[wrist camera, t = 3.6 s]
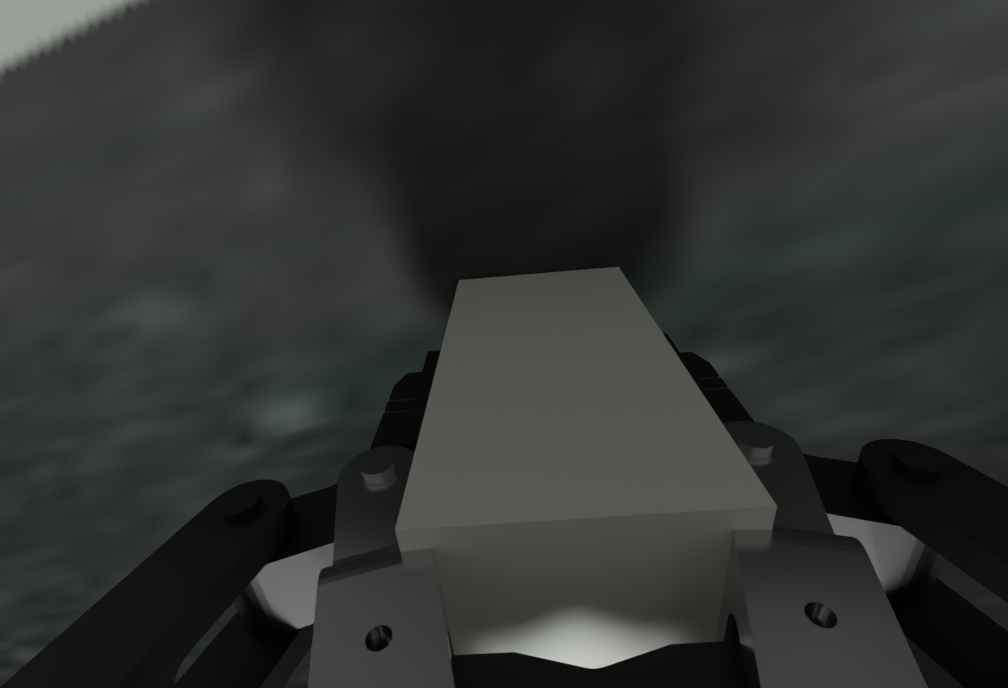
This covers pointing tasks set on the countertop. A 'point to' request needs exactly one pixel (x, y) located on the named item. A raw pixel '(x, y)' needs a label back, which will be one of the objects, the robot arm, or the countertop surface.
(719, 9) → the countertop surface
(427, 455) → the grey l-shaped block
